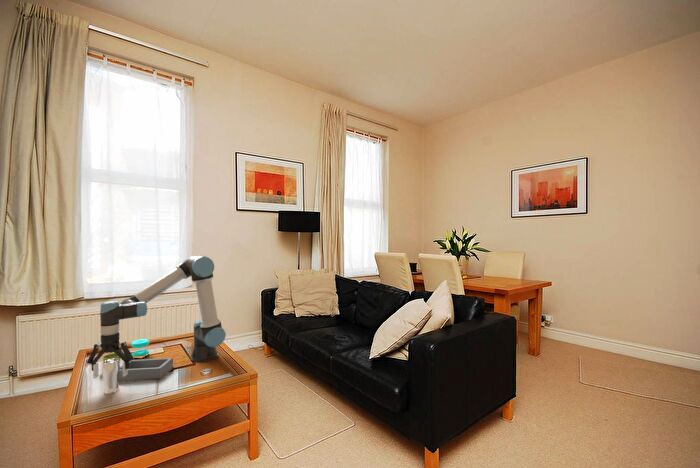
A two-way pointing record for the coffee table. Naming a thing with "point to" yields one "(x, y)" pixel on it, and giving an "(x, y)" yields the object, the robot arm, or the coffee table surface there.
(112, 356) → the plant pot
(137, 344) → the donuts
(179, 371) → the coffee table surface
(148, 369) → the open box
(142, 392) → the coffee table surface
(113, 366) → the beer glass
